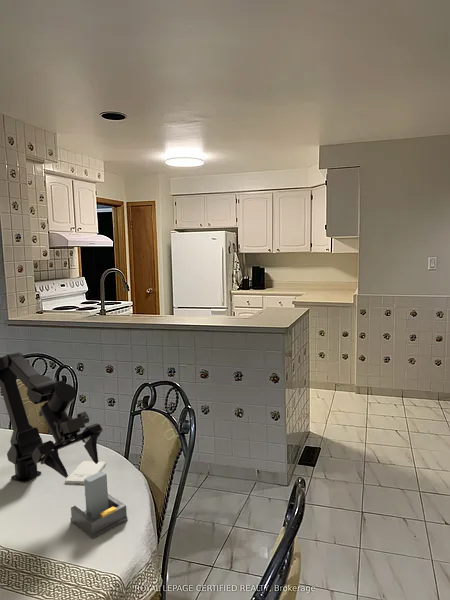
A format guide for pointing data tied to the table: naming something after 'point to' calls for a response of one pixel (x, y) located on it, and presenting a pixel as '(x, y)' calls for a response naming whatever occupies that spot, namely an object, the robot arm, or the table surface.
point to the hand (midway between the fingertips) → (82, 469)
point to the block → (96, 494)
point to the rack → (100, 518)
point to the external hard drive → (85, 472)
